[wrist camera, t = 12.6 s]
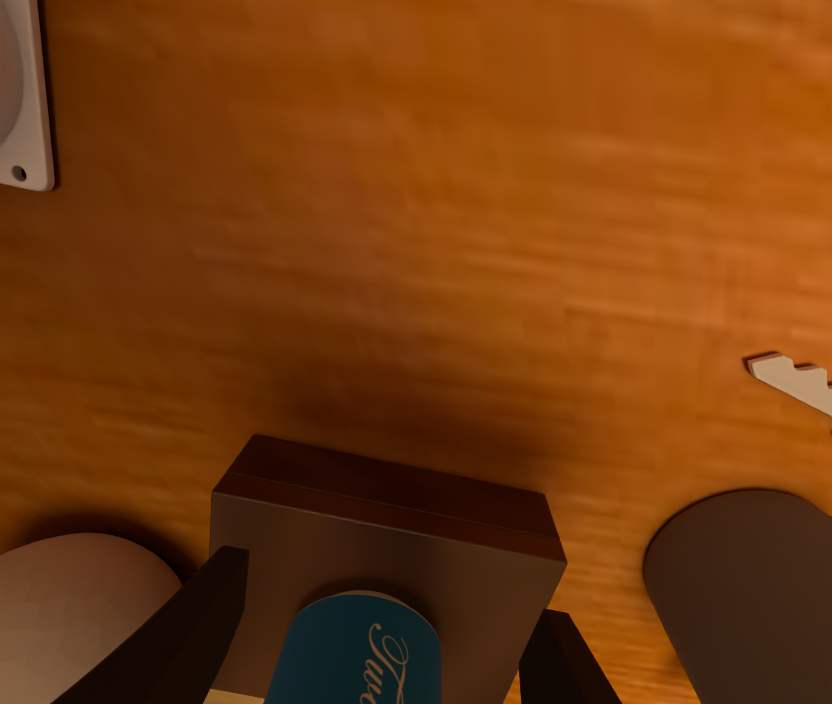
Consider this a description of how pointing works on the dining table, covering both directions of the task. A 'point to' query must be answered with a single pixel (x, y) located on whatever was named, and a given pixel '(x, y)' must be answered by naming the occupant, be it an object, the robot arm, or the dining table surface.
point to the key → (795, 380)
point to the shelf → (385, 558)
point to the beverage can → (358, 654)
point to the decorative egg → (72, 609)
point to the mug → (748, 597)
